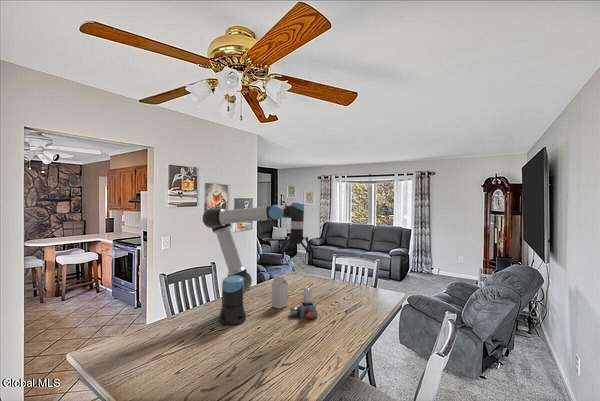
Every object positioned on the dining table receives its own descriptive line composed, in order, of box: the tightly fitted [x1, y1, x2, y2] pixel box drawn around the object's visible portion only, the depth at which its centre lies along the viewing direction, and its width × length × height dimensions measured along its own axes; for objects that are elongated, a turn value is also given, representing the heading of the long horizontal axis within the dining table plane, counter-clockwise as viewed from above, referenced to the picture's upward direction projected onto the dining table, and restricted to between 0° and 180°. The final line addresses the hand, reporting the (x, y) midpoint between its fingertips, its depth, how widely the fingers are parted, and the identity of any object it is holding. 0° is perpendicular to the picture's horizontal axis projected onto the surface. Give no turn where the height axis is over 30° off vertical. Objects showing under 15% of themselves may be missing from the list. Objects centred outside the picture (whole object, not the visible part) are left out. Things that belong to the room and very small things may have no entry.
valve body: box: [289, 300, 318, 321], centre depth 167 cm, size 15×12×6 cm
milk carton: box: [271, 275, 288, 310], centre depth 182 cm, size 7×7×19 cm
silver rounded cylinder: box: [303, 287, 312, 306], centre depth 169 cm, size 5×5×12 cm
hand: (295, 264), depth 171 cm, fingers open, 13 cm apart
